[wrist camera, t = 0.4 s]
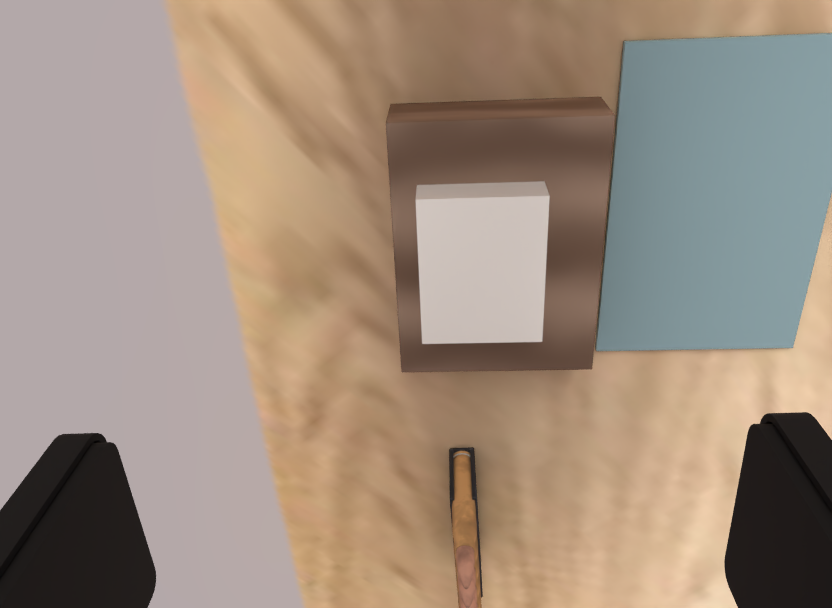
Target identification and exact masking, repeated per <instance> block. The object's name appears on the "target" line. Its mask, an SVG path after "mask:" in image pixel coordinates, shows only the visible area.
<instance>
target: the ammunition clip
mask: <svg viewBox="0 0 832 608" xmlns="http://www.w3.org/2000/svg"><path fill="white" fill-rule="evenodd" d="M449 468H450V507H451V519H452V532H453V543H454V555H455V567H456V578H457V590H458V603H459V608H482V606H481V598H482V596H483V594H482V575H481V556H480V539H479V522H478V506H477V489H476V473H475V456H474V448H455V449H450V450H449Z"/></svg>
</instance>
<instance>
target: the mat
mask: <svg viewBox="0 0 832 608" xmlns="http://www.w3.org/2000/svg"><path fill="white" fill-rule="evenodd" d="M831 193H832V33H818V34H792V35H766V36H740V37H714V38H688V39H662V40H636V41H624V42H623V53H622V64H621V75H620V86H619V97H618V107H617V118H616V129H615V140H614V151H613V162H612V173H611V183H610V194H609V205H608V216H607V227H606V238H605V248H604V259H603V270H602V281H601V292H600V303H599V314H598V324H597V335H596V346H595V348H596V351H633V350H692V349H751V348H793V345H794V341H795V337H796V333H797V329H798V325H799V321H800V317H801V313H802V309H803V305H804V301H805V297H806V293H807V289H808V285H809V281H810V277H811V273H812V269H813V265H814V261H815V257H816V253H817V249H818V245H819V241H820V237H821V233H822V229H823V225H824V221H825V217H826V213H827V209H828V205H829V201H830V197H831Z"/></svg>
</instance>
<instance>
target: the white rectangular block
mask: <svg viewBox="0 0 832 608" xmlns="http://www.w3.org/2000/svg"><path fill="white" fill-rule="evenodd" d="M549 197H550V196H549V193H548V190H547V187H546V184H545V181H539V182H504V183H470V184H435V185H417V189H416V221H417V243H418V265H419V287H420V309H421V331H422V344H452V343H509V342H542V338H543V318H544V298H545V278H546V258H547V238H548V218H549Z"/></svg>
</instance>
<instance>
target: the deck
mask: <svg viewBox="0 0 832 608" xmlns="http://www.w3.org/2000/svg"><path fill="white" fill-rule="evenodd" d="M614 122H615V115H614V113H613V112H612V111H611V109H610V108H609V107H608V106H607V104H606V103H605V102H604V100H603V99H602V98H601V97H582V98H553V99H524V100H495V101H466V102H437V103H408V104H391V105H390V109H389V113H388V117H387V121H386V133H387V149H388V165H389V180H390V196H391V212H392V228H393V243H394V259H395V275H396V291H397V306H398V322H399V338H400V354H401V369H402V372H450V371H514V370H578V369H592V363H593V352H594V341H595V330H596V319H597V308H598V297H599V286H600V275H601V264H602V253H603V242H604V231H605V220H606V209H607V199H608V188H609V177H610V166H611V155H612V144H613V133H614ZM539 181H545V184H546V187H547V190H548V193H549V196H550V197H549V218H548V238H547V258H546V278H545V298H544V318H543V338H542V342H509V343H452V344H422V331H421V309H420V287H419V265H418V243H417V221H416V189H417V185H435V184H470V183H504V182H539Z"/></svg>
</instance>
